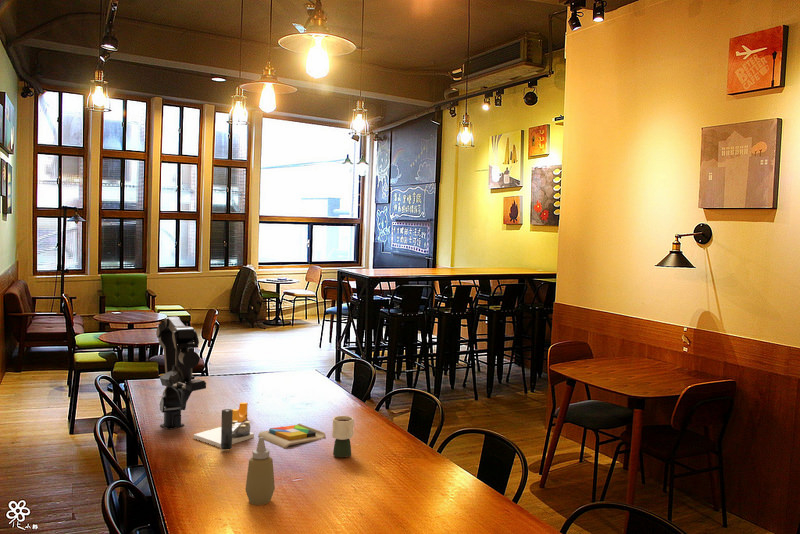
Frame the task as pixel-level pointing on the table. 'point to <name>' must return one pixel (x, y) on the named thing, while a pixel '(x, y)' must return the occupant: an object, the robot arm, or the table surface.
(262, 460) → the squeeze bottle
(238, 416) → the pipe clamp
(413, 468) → the table surface
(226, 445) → the dark cylinder with bar
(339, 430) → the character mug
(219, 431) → the cap plate
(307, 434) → the wooden puzzle
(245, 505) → the table surface
